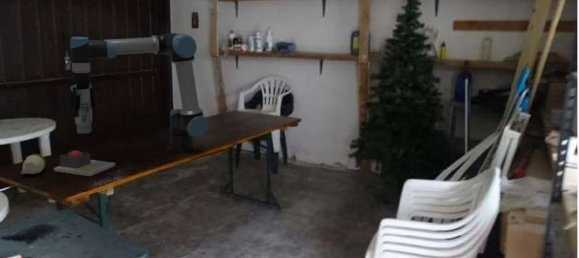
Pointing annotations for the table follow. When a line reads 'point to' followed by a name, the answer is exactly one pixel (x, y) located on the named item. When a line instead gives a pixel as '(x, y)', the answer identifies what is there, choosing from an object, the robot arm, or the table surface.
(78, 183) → the table surface
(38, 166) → the cartoon head
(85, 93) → the spray paint can
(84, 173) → the tray with gray block
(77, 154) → the red dome
